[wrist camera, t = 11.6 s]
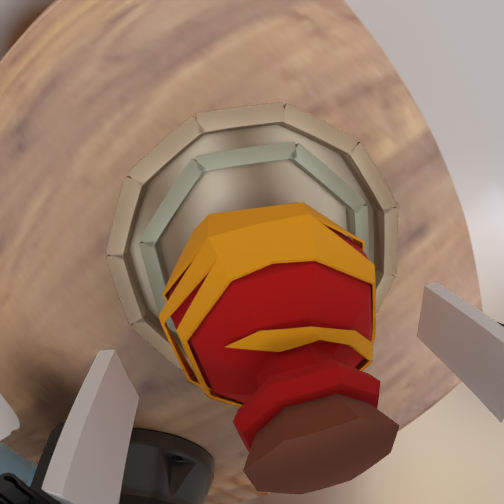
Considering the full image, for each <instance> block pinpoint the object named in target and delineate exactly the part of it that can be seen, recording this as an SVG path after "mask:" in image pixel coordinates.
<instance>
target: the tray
mask: <svg viewBox="0 0 504 504" xmlns="http://www.w3.org/2000/svg"><path fill="white" fill-rule="evenodd" d="M196 116H197V121H196V119H195V118H194V117H193V116H191V117H190V118H189V119H187V120H186V121H185V122H184V123H183V124H181V125H180V126H179V127H178V128H176V129H175V130H174V131H173V132H172V133H171V134H169V135H168V136H167V137H166V138H165V139H164V140H163V141H161V142H160V143H159V144H158V145H157V146H156V147H155V148H154V149H152V150H151V151H150V152H149V153H148V154H147V155H146V156H145V157H144V158H143V159H142V160H141V161H140V162H138V163H137V164H136V165H135V166H134V167H133V168H132V169H131V170H130V171H129V172H128V175H129V176H127V177H125V179H124V183H123V186H122V190H121V193H120V197H119V200H118V204H117V208H116V211H115V215H114V219H113V223H112V228H111V232H110V236H109V241H108V245H107V250H106V254H109V255H108V256H107V257H106V258H107V262H108V265H109V268H110V272H111V275H112V278H113V281H114V284H115V287H116V290H117V293H118V296H119V299H120V301H121V304H122V307H123V310H124V312H125V315H126V318H127V320H128V323H129V324H132V325H131V327H132V328H133V329H134V330H135V331H136V332H137V333H138V334H139V335H141V336H142V337H143V338H144V339H145V340H146V341H147V342H148V343H150V344H151V345H152V346H153V347H154V348H155V349H157V350H158V351H159V352H160V353H161V354H162V355H164V356H165V357H166V358H167V359H168V360H170V361H171V362H172V363H173V364H175V365H176V366H177V367H178V368H180V369H182V367H181V365H180V363H179V361H178V359H177V357H176V355H175V353H174V351H173V349H172V347H171V345H170V343H169V341H168V338H167V336H166V334H165V332H164V330H163V327H162V325H161V323H160V319H159V314H160V313H161V311H162V310H163V308H164V306H165V305H166V303H167V302H166V301H165V299H164V297H163V295H162V293H163V291H164V289H165V287H166V285H167V283H168V281H169V279H170V276H171V274H172V272H173V270H174V268H175V266H176V264H177V262H178V260H179V258H180V256H181V254H182V252H183V250H184V248H185V246H186V244H187V242H188V240H189V238H190V236H191V234H192V232H193V231H194V230H195V228H196V227H197V226H198V225H199V224H200V223H201V222H202V221H203V220H204V219H205V218H206V217H207V215H208V214H214V213H221V212H228V211H236V210H244V209H252V208H260V207H267V206H275V205H283V204H289V203H296V202H298V203H300V202H304V203H305V204H307V205H309V206H310V207H312V208H313V209H315V210H316V211H318V212H319V213H321V214H322V215H324V216H326V217H327V218H329V219H330V220H332V221H333V222H335V223H336V224H338V225H339V226H341V227H342V228H344V229H345V230H346V231H348V232H349V233H351V234H352V235H354V236H356V237H358V238H360V239H362V240H364V241H365V248H364V253H365V254H366V256H367V257H368V259H369V261H371V262H372V263H373V264H374V265H375V282H376V313H377V311H378V309H379V307H380V306H381V304H382V302H383V300H384V298H385V296H386V295H387V293H388V291H389V289H390V287H391V285H392V283H393V281H394V279H395V276H394V274H396V273H397V253H398V208H397V207H395V206H396V205H397V203H396V201H395V200H394V198H393V196H392V194H391V192H390V190H389V188H388V186H387V185H386V183H385V181H384V179H383V177H382V176H381V174H380V172H379V170H378V169H377V167H376V165H375V164H374V162H373V160H372V159H371V157H370V155H369V154H368V152H367V150H366V149H365V147H364V146H363V144H362V142H358V140H359V139H357V138H355V137H353V136H352V135H350V134H348V133H346V132H344V131H343V130H341V129H339V128H337V127H335V126H333V125H331V124H329V123H327V122H325V121H323V120H321V119H319V118H317V117H315V116H313V115H311V114H309V113H307V112H305V111H303V110H301V109H299V108H296V107H294V106H292V105H290V104H285V105H284V106H283V103H271V104H261V105H251V106H243V107H235V108H228V109H222V110H215V111H209V112H204V113H198V114H196ZM344 235H345V236H347V237H348V238H350V239H351V237H350V236H348V235H346V234H344ZM165 323H166V324H167V326H168V328H169V330H170V332H171V334H172V335H173V337H174V339H175V341H176V342H177V344H178V346H179V348H180V349H181V351H182V353H183V354H184V356H185V358H186V359H187V361H188V363H189V364H190V362H189V359H188V357H187V355H186V353H185V350H184V348H183V346H182V343H181V341H180V339H179V336H178V334H177V331H176V328H175V326H174V323H173V321H172V318H171V316H170V317H169V318H168V320H167V321H166V322H165ZM190 366H191V364H190ZM191 368H192V366H191ZM192 369H193V368H192ZM193 371H194V370H193Z"/></svg>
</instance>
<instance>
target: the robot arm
mask: <svg viewBox="0 0 504 504" xmlns="http://www.w3.org/2000/svg"><path fill="white" fill-rule="evenodd" d="M417 337H418V338H419V339H420V340H421V341H422V342H423V343H424V344H425V345H426V346H427V347H428V348H429V349H430V350H431V351H432V352H434V353H435V354H436V355H437V356H438V357H439V358H440V359H441V360H442V361H443V362H444V363H445V364H446V365H447V366H448V367H449V368H450V369H451V370H452V371H453V372H454V373H455V374H456V375H457V376H458V377H459V378H460V379H461V381H462V382H463V383H464V384H465V385H466V386H467V387H468V388H469V389H470V390H471V391H472V392H473V393H474V394H475V395H476V396H477V397H478V398H479V399H480V400H481V401H482V403H484V404H485V405H486V407H487V408H488V409H489V410H490V411H491V412H492V413H493V414H494V416H495V417H496V418H497V419H498V420H499V421H500V422H501V423H502V422H503V421H504V324H501V323H498V322H496V321H494V320H493V319H491V318H490V317H489V316H487V315H486V314H484V313H483V312H482V311H480V310H479V309H477V308H476V307H474V306H473V305H471V304H470V303H468V302H467V301H465V300H464V299H462V298H461V297H459V296H458V295H456V294H455V293H453V292H452V291H450V290H448V289H447V288H445V287H444V286H442V285H441V284H439V283H437V282H434V283H431V284H428V285H425V286H424V293H423V301H422V308H421V314H420V321H419V326H418V332H417ZM138 401H139V396H138V394H137V392H136V390H135V388H134V387H133V385H132V383H131V381H130V379H129V377H128V375H127V373H126V371H125V369H124V367H123V365H122V363H121V361H120V359H119V357H118V355H117V353H116V351H115V349H114V350H102V351H99V352H98V354H97V356H96V358H95V360H94V362H93V364H92V366H91V368H90V370H89V372H88V374H87V376H86V378H85V380H84V382H83V384H82V387H81V389H80V391H79V393H78V395H77V397H76V400H75V402H74V404H73V406H72V409H71V411H70V413H69V416H68V418H67V420H66V423H62V422H59V424H58V425H57V426H56V427H55V428H54V429H53V430H52V431H51V434H50V436H49V438H48V441H47V445H46V446H45V448H44V450H43V453H44V454H42V456H41V458H40V461H39V463H38V465H37V464H36V463H35V462H33V461H30V460H27V459H26V458H24V457H23V456H21V455H20V454H19V453H17V452H16V451H14V450H13V449H11V448H10V447H9V446H7V445H6V444H4V443H2V442H0V504H204V502H205V499H206V497H207V494H208V492H209V489H210V487H211V484H212V481H213V478H214V463H213V460H212V458H211V456H210V455H209V454H208V453H207V452H206V451H205V450H203V449H202V448H200V447H199V446H197V445H195V444H193V443H191V442H189V441H187V440H184V439H181V438H179V437H176V436H172V435H169V434H165V433H160V432H155V431H149V430H140V429H132V428H133V423H134V419H135V414H136V410H137V406H138Z"/></svg>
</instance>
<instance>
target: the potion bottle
mask: <svg viewBox="0 0 504 504" xmlns="http://www.w3.org/2000/svg"><path fill="white" fill-rule="evenodd" d="M344 234H346V235H348V236H350V237H351V239H350V238H348V237H347V236H345V235H344ZM364 248H365V241H364V240H362V239H360V238H358V237H356V236H354V235H352V234H351V233H349V232H348V231H346V230H345V229H344V228H342V227H341V226H339V225H338V224H336V223H335V222H333V221H332V220H330V219H329V218H327V217H326V216H324V215H322V214H321V213H319V212H318V211H316V210H315V209H313V208H312V207H310V206H309V205H307V204H305V203H304V202H300V203H298V202H296V203H289V204H283V205H275V206H267V207H260V208H252V209H244V210H236V211H228V212H221V213H214V214H208V215H207V217H206V218H205V219H204V220H203V221H202V222H201V223H200V224H199V225H198V226H197V227H196V228H195V230H194V231H193V232H192V234H191V236H190V238H189V240H188V242H187V244H186V246H185V248H184V250H183V252H182V254H181V256H180V258H179V260H178V262H177V264H176V266H175V268H174V270H173V272H172V274H171V276H170V279H169V281H168V283H167V285H166V287H165V289H164V291H163V293H162V295H163V297H164V299H165V301H166V302H167V303H166V305H165V306H164V308H163V310H162V311H161V313H160V314H159V319H160V323H161V325H162V327H163V330H164V332H165V334H166V336H167V338H168V341H169V343H170V345H171V347H172V349H173V351H174V353H175V355H176V357H177V359H178V361H179V363H180V365H181V367H182V369H183V371H184V373H185V375H186V377H187V379H188V381H189V382H191V383H193V384H195V385H197V386H200V387H202V390H203V391H204V392H205V393H206V395H207V396H208V397H209V398H212V399H215V400H218V401H221V402H225V403H228V404H231V405H235V406H238V407H240V408H239V409H238V411H237V414H236V416H235V418H234V421H233V423H234V425H235V427H236V429H237V431H238V433H239V435H240V436H241V438H242V440H243V442H244V444H245V446H246V448H247V450H248V451H249V455H248V458H247V461H246V464H245V467H244V470H243V471H244V472H245V474H246V475H247V477H248V478H249V480H250V481H251V483H252V484H253V485H254V487H255V488H256V490H257V491H263V492H275V493H288V494H304V493H308V492H312V491H316V490H320V489H323V488H327V487H331V486H334V485H337V484H340V483H343V482H346V481H350V480H352V479H353V478H355V477H357V476H358V475H359V474H361V473H363V472H364V471H366V470H367V469H369V468H370V467H372V466H373V465H374V464H376V463H377V462H379V460H381V459H382V458H384V457H385V456H387V455H388V454H389V453H390V452H391V449H392V447H393V444H394V441H395V438H396V434H397V431H398V428H399V425H398V424H397V423H395V422H394V421H393V420H391V419H390V418H389V417H387V416H386V415H384V414H383V413H382V412H380V411H379V410H378V409H377V405H378V398H379V390H380V381H379V380H378V379H376V378H374V377H373V376H371V375H370V374H367V373H365V372H362V371H363V370H364V369H365V368H366V367H367V366H368V365H370V364H371V363H372V358H373V342H374V341H375V330H376V282H375V265H374V264H373V263H372V262H371V261H369V259H368V257H367V256H366V254H365V253H364ZM170 316H171V318H172V321H173V323H174V326H175V328H176V331H177V334H178V336H179V339H180V341H181V343H182V346H183V348H184V350H185V353H186V355H187V357H188V359H189V362H190V364H191V366H192V368H193V369H192V368H191V366H190V364H189V363H188V361H187V359H186V358H185V356H184V354H183V353H182V351H181V349H180V348H179V346H178V344H177V342H176V341H175V339H174V337H173V335H172V334H171V332H170V330H169V328H168V326H167V324H166V323H165V322H166V321H167V320H168V318H169V317H170ZM193 370H194V371H193Z"/></svg>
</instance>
